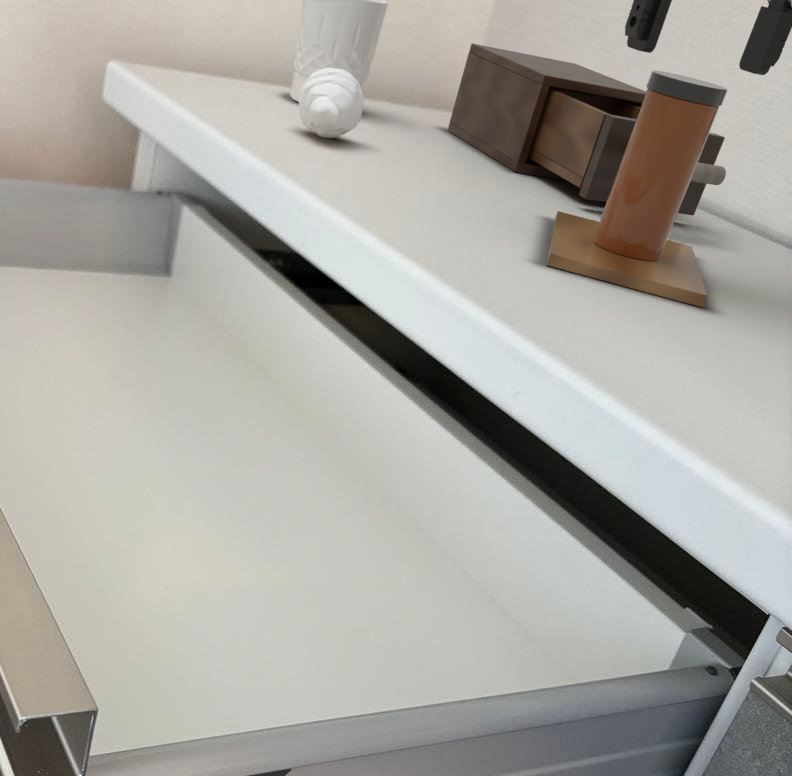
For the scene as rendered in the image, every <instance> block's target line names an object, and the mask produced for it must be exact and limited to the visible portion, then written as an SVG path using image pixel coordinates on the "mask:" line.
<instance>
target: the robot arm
mask: <svg viewBox="0 0 792 776" xmlns="http://www.w3.org/2000/svg"><path fill="white" fill-rule="evenodd" d="M672 1H673V0H633V1H632V4H631V8H630V11H629V12H628V16H627V19H626V22H625V26H624V36H626V37H627V40H626V45H627V47H628V48H630V49H633V50H636V51H639V52H643V53H649V54H651V53H652V52H654V50H655V49H656V47H657V44H658V41H659V38H660V35H661V33H662V30H663V27H664V25H665V22H666V19H667V15H668V13H669V10H670V7H671V4H672ZM767 3H768V5H767V6H763V5H761V6H760V8H759V11H758V13H757V15H756V19H755V22H754V24H753V26H752V29H751V30H750V31H751V32H750V35H749V37H748V39H747V41H746V45H745V47H744V50H743V53H742V54H741V57H740V60H739V69H740V70H742V71H744V72H747V73H751V74H754V75H760V76H765V75H767V73H768V72H769V71H770V70H771V67H775V65H776V64H777V62H778V61H780V60H779V59H780V58H781V56H782V53H783V49H784V48H785V45H786V42H787V40H788V39H789V36H790V34H791V30H792V0H767Z"/></svg>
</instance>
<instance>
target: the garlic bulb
mask: <svg viewBox="0 0 792 776" xmlns="http://www.w3.org/2000/svg"><path fill="white" fill-rule="evenodd" d="M364 102H365V97H364V93H363V92H362V90H361V86H360V84H359V83H358V81H357V80H356V79H355V78H354V77H353V76H352V75H351V74H350V73H348V72H347V71H345V70H342V69H335V68H324V69H321V70H319V71H317V72H315V73H313V74H312V75H311V76H310V77H309V78H308V80H307V81H306V82H305V83H304V85H303V86H302V88H301V90H300V93H299V102H298V113H299V118H300V120H301V123H302V125H303V126H304V127H305V128H306V129H308V130H309V131H311V132H314V133H315V135H317V136H318V137H320V138H324V139H335V138H339V137H341V136H343V135H346V134H347V133H349V132H350V131H353V130H354V129H355V128H356V127H357V126H358V125H359V123H360V121H361V118H362V116H363V110H364Z"/></svg>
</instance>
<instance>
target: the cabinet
mask: <svg viewBox="0 0 792 776" xmlns="http://www.w3.org/2000/svg"><path fill="white" fill-rule="evenodd" d="M550 86H551V87H556V88H562V89H567V90H572V91H578V92H583V93H588V94H594V95H599V96H604V97H610V98H615V99H620V100H625V101H628V102H630V103H633V104H635V105H637V106H640V107H641V105H642V102H643V99H644V96H645V94H646V91H647V90H644V89H642V88H641V89H640V88H638V87H636V86H633V85H631V84H628V83H626V82H623V81H620V80H618V79H615V78H613V77H611V76H608V75H605V74H602V73H600V72H598V71H595V70H593V69H590V68H587V67H585V66H582V65H581V64H577V63H575V62H574V63H573V62H569V61H563V60H559V59H554V58H549V57H544V56H538V55H533V54H529V53H523V52H517V51H513V50H508V49H502V48H497V47H492V46H487V45H482V44H477V43H474V42H473V43H471V44H470V47H469V51H468V54H467V57H466V61H465V64H464V68H463V72H462V75H461V80H460V83H459V86H458V91H457V94H456V98H455V101H454V105H453V108H452V112H451V116H450V119H449V124H448V127H447V131H448V132H450V133H451V134H452V135H455V136H456V137H458V138H459V139H461V140H463V141H464V142H466V143H467V144H469V145H470V146H472V147H474V148H475V149H477V150H479V151H480V152H482V153H484V154H485V155H486V156H488V157H491V158H492V159H494V161H497V162H498V163H499V164H502V165H503V166H505V167H506V168H507V169H510V170H511V171H513V172H514V173H519V174H520V173H521V174H525V175H531V176H532V175H533V176H538V177H545V178H551V179H557V180H564V181H566V180H565V179H564V178H562V177H560V176H559V175H557V174H555V173H553V172H552V171H550V170H548V169H547V168H545V167H543V166H541V165H540V164H538V163H536V162H535V161H533V160H531V159H529V158H528V154H529V151H530V148H531V145H532V141H533V138H534V135H535V132H536V129H537V126H538V122H539V119H540V116H541V113H542V110H543V107H544V103H545V100H546V97H547V94H548V91H549V87H550Z"/></svg>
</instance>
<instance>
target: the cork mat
mask: <svg viewBox="0 0 792 776" xmlns="http://www.w3.org/2000/svg"><path fill="white" fill-rule="evenodd" d="M599 222H600V221H597V220H594V219H589V218H586V217H582V216H579V215H574V214H571V213H567V212H563V211H559V210H557V212H556V215H555V217H554V221H553V227H552V231H551V237H550V244H549V249H548V255H547V260H546V266H548V267H552V268H554V269H559V270H564V271H566V272H570V273H574V274H578V275H581V276H584V277H589V278H592V279H596V280H600V281H603V282H606V283H611V284H614V285H618V286H620V287H621V286H622V287H626V288H629V289H633V290H637V291H640V292H644V293H647V294H650V295H655V296H659V297H662V298H666V299H670V300H674V301H678V302H681V303H684V304H688V305H691V306H695V307H699V308H704V306H705V303H706V301H707V299H708V297H709V296H708V295H709V294H708V293H707V289H706V286H705V282H704V280H703V277H702V274H701V271H700V267H699V265H698V261H697V258H696V255H695V252H694V249H693V246H692V245H689V244H685V243H681V242H677V241H673V240H669V239H667V242H666V244H665V247H664V249H663V252H662V254H661V257H660V259H659V260H656V261H645V260H639V259H634V258H629V257H625V256H622V255H619V254H616V253H613V252H610V251H608V250H606V249H604V248H602V247H600V246H598V245H597V244H596V243H594V241H593V239H594V236H595V233H596V231H597V228H598V225H599Z"/></svg>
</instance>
